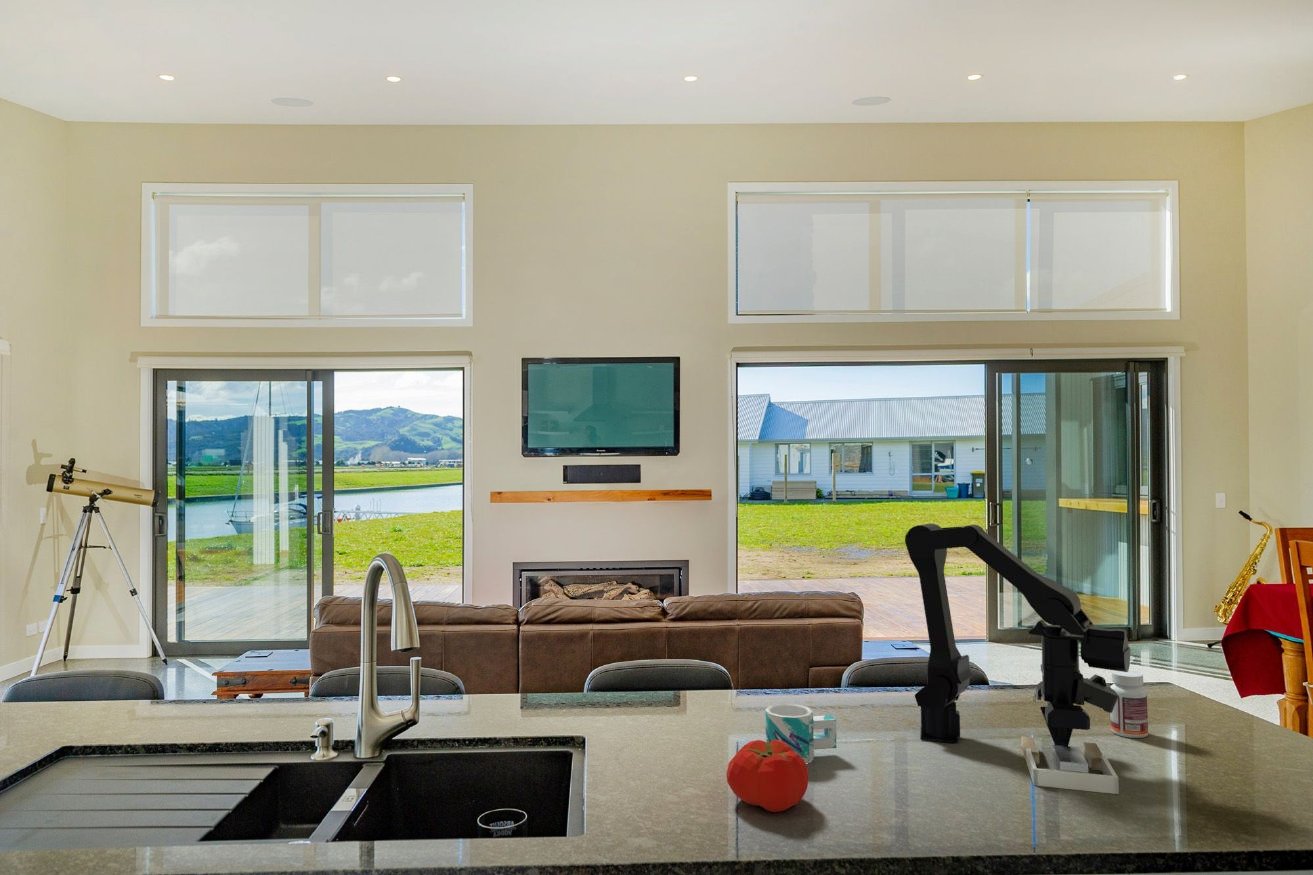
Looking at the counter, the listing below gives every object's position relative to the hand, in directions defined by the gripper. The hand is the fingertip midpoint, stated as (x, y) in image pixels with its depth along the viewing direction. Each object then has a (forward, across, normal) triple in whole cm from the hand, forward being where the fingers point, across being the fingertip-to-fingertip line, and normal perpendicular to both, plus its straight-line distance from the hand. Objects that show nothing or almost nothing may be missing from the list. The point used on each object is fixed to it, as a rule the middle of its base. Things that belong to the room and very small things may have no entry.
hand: (1062, 754), depth 141 cm
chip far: (+1, -6, 0) cm, 6 cm away
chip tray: (+1, -8, 0) cm, 8 cm away
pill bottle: (+1, +20, -14) cm, 24 cm away
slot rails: (+1, +1, 0) cm, 2 cm away
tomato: (+2, -32, +44) cm, 55 cm away
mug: (+2, -11, +43) cm, 44 cm away
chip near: (+1, -10, 0) cm, 10 cm away
